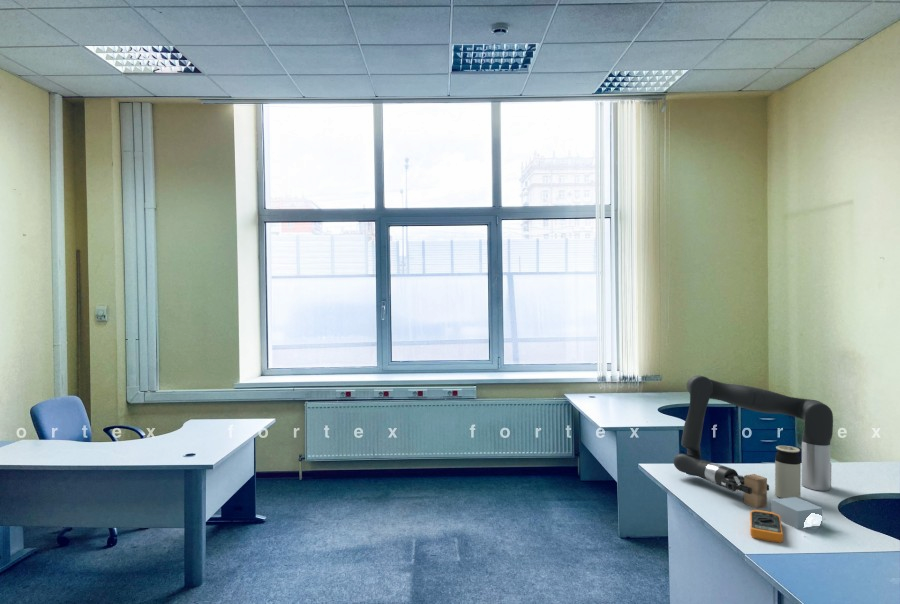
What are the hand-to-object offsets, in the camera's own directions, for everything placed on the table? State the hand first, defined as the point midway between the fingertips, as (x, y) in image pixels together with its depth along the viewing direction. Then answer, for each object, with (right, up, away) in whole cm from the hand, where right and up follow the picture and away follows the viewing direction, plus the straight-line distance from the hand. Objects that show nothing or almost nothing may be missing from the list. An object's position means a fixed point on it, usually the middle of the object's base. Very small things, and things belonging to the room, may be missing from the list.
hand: (759, 489), depth 191 cm
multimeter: (-9, -7, -19) cm, 22 cm away
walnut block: (-1, -6, +2) cm, 6 cm away
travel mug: (+16, -6, +9) cm, 19 cm away
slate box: (+5, -6, -12) cm, 15 cm away
